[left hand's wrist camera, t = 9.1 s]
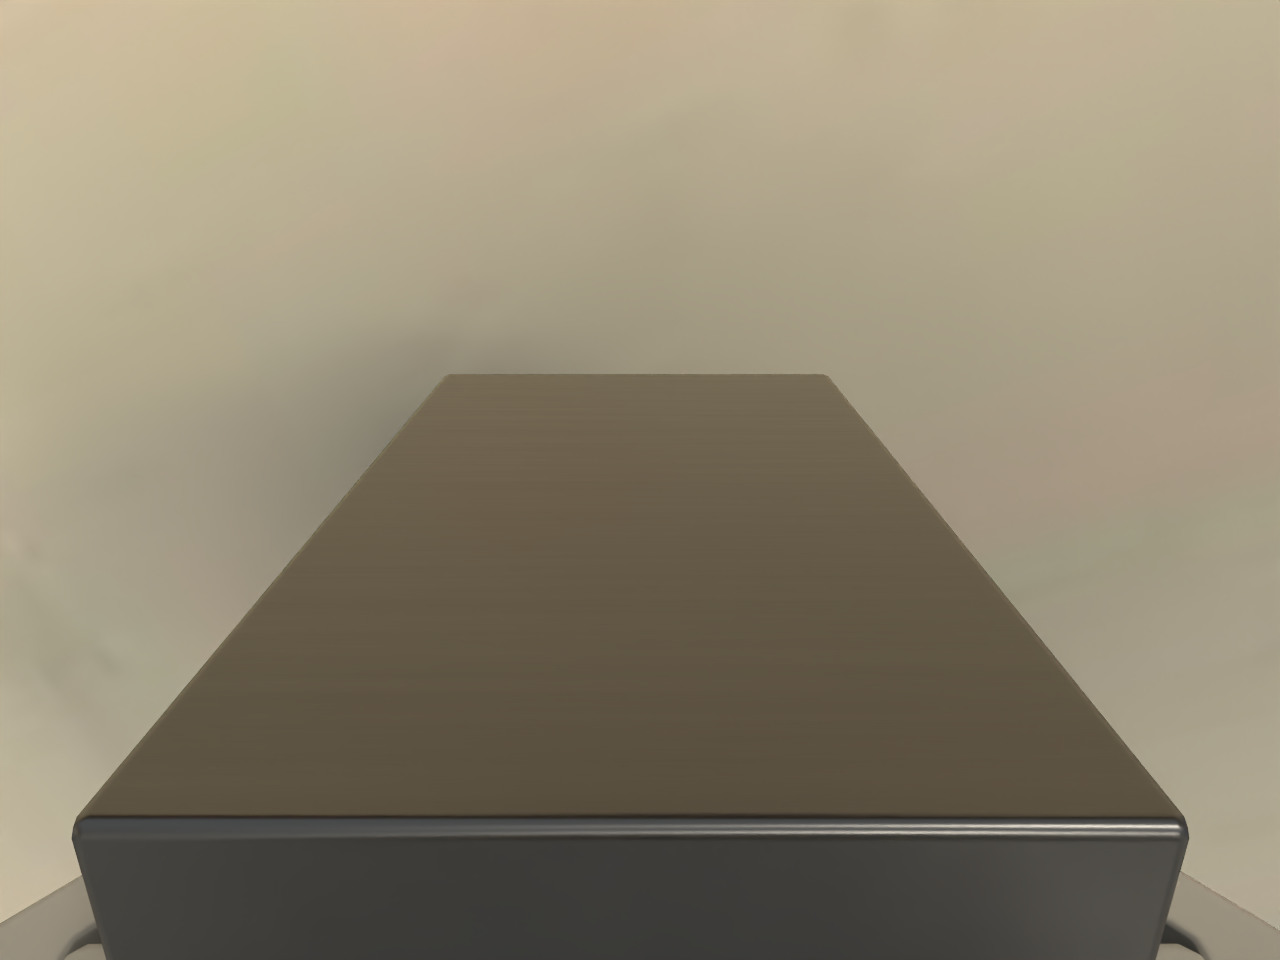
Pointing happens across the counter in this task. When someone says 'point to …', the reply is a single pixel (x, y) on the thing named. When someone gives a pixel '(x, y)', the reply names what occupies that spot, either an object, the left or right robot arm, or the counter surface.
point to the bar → (632, 713)
